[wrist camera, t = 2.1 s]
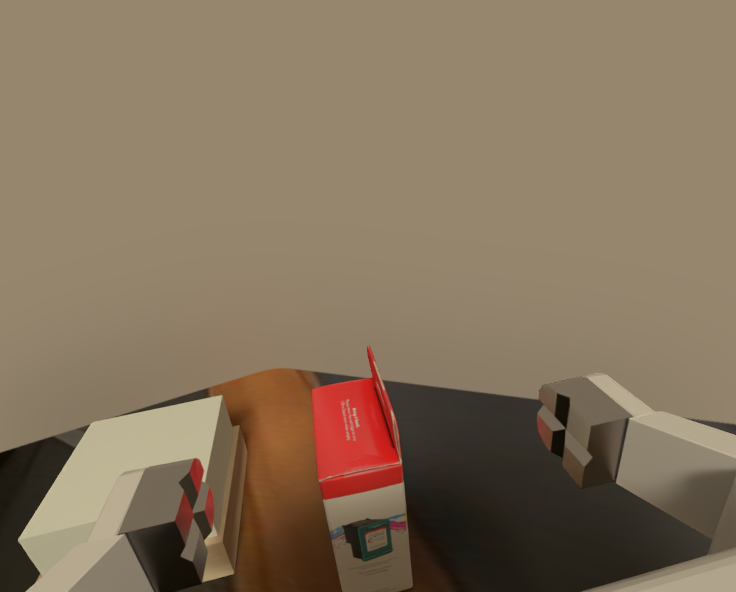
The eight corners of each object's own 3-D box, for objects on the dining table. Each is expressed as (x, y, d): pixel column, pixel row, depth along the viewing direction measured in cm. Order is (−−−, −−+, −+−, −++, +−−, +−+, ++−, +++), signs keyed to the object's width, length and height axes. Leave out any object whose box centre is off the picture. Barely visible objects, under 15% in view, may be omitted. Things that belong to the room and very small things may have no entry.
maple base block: (248, 456, 40) (239, 424, 38) (235, 578, 29) (222, 541, 27) (121, 484, 38) (106, 452, 37) (57, 624, 27) (32, 588, 26)
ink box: (331, 500, 34) (302, 352, 28) (388, 487, 34) (371, 339, 28) (343, 611, 26) (307, 437, 20) (416, 592, 27) (402, 418, 21)
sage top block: (233, 429, 38) (222, 395, 36) (217, 535, 28) (202, 494, 26) (108, 457, 36) (92, 422, 35) (45, 580, 26) (17, 540, 25)
